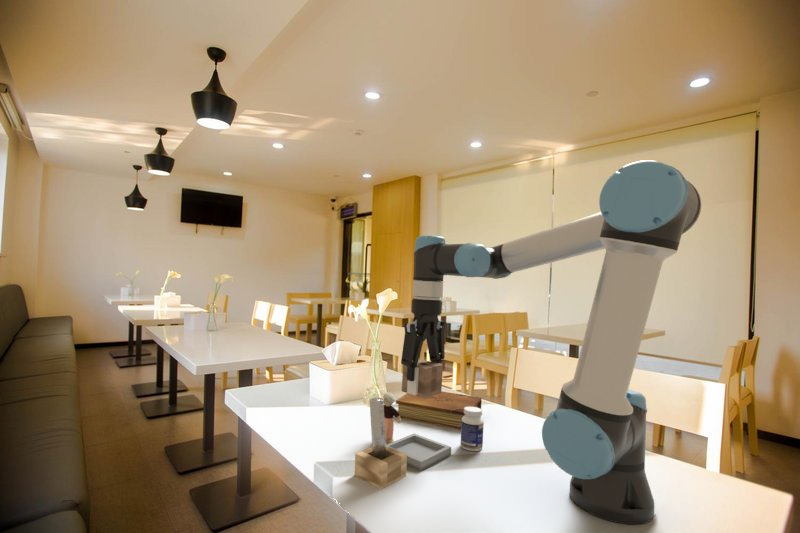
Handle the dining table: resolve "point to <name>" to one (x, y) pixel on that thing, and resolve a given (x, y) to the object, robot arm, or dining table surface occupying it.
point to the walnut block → (426, 378)
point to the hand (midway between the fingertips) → (422, 390)
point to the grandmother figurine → (389, 416)
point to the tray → (421, 451)
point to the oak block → (380, 467)
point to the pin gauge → (378, 428)
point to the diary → (437, 408)
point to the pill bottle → (472, 429)
